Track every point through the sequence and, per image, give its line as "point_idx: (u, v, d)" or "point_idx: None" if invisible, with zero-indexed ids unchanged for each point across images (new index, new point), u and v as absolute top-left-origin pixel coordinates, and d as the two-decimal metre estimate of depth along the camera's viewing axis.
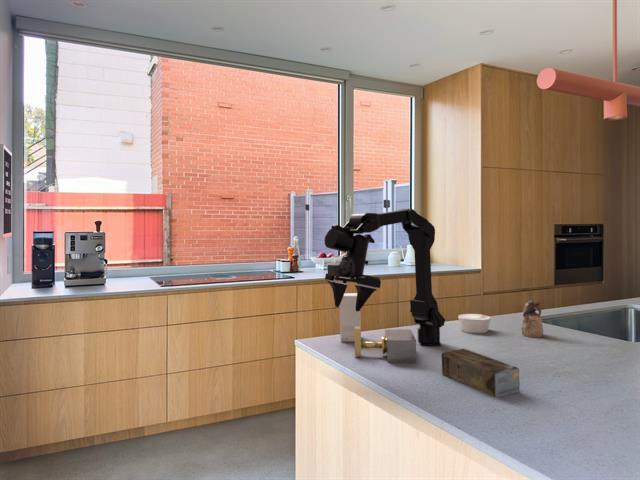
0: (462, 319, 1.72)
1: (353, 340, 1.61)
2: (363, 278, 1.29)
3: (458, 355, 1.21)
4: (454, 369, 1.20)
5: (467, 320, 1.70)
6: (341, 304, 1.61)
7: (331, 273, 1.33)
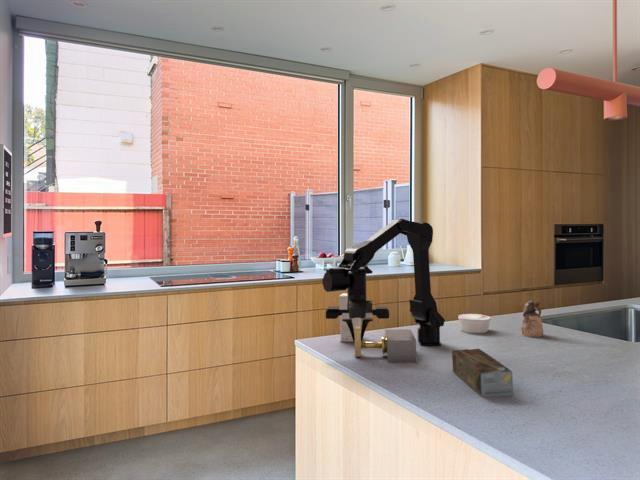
0: (462, 319, 1.72)
1: None
2: (385, 312, 1.40)
3: (464, 354, 1.22)
4: (458, 367, 1.22)
5: (467, 320, 1.70)
6: (341, 304, 1.61)
7: (357, 316, 1.36)
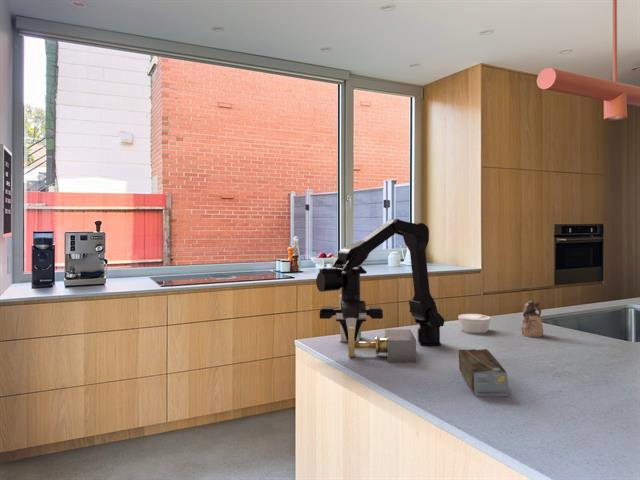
0: (462, 319, 1.72)
1: None
2: (379, 313, 1.40)
3: (468, 353, 1.22)
4: (461, 366, 1.22)
5: (467, 320, 1.70)
6: None
7: (350, 316, 1.36)
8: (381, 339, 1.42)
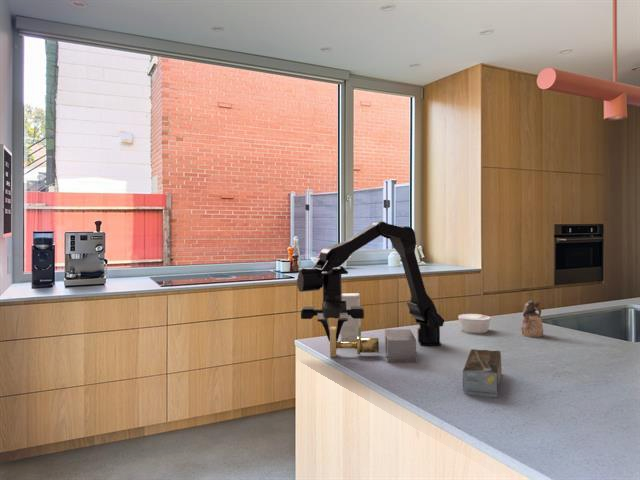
0: (462, 319, 1.72)
1: (353, 340, 1.61)
2: (360, 312, 1.40)
3: (475, 353, 1.23)
4: None
5: (467, 320, 1.70)
6: None
7: (331, 316, 1.36)
8: (363, 339, 1.43)
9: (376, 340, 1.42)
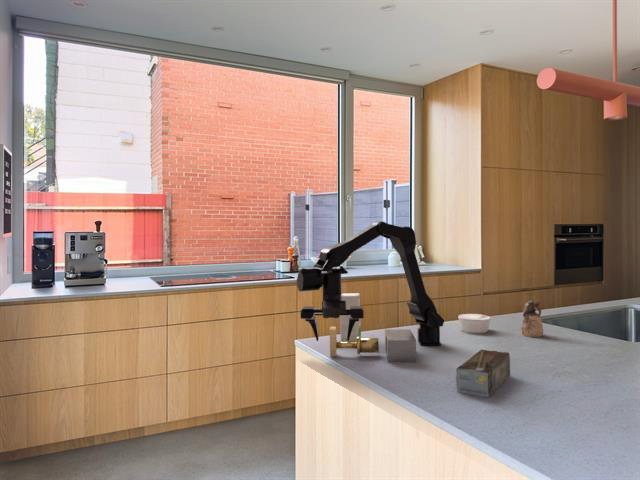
0: (462, 319, 1.72)
1: (353, 340, 1.61)
2: (359, 312, 1.40)
3: (480, 353, 1.22)
4: None
5: (467, 320, 1.70)
6: None
7: (331, 316, 1.36)
8: (362, 339, 1.43)
9: (376, 340, 1.42)
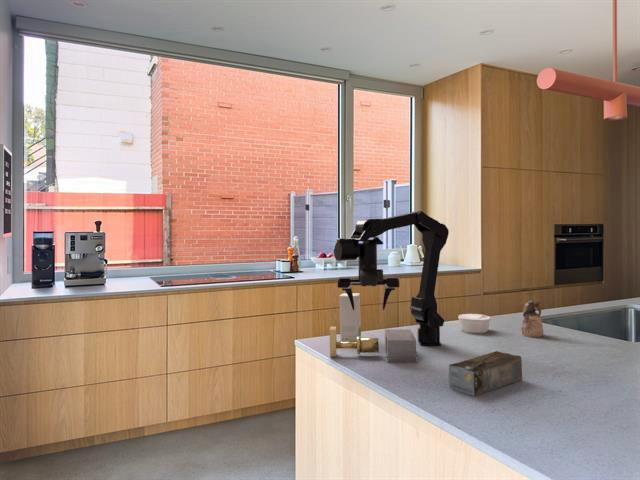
0: (462, 319, 1.72)
1: (353, 340, 1.61)
2: (395, 281, 1.44)
3: (489, 354, 1.21)
4: None
5: (467, 320, 1.70)
6: (341, 304, 1.61)
7: (368, 284, 1.40)
8: (362, 339, 1.43)
9: (376, 340, 1.42)
